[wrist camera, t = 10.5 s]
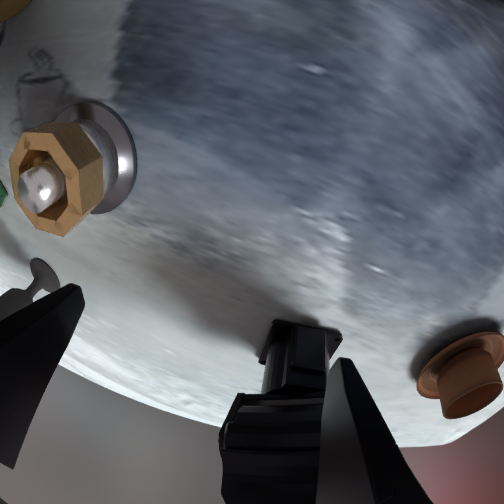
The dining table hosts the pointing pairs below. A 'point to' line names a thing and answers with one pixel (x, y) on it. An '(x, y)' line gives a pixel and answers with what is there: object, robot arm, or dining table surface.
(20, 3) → the plant pot
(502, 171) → the dining table surface
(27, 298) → the sundae
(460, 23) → the dining table surface
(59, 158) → the ring
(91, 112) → the silver flanged knob
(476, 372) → the cup and saucer
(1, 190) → the coffee box
